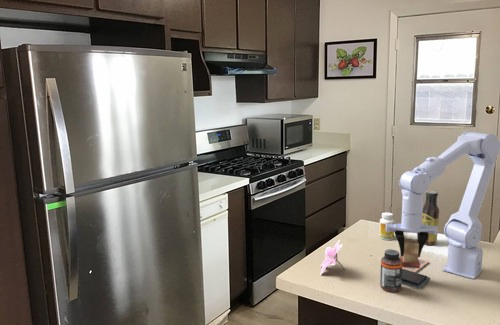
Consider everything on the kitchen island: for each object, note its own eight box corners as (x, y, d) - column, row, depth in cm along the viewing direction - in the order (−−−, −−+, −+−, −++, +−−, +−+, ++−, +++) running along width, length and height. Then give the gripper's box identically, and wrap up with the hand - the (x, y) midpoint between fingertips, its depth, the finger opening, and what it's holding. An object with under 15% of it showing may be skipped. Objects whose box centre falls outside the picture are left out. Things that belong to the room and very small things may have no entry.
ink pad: (430, 280, 132) (430, 276, 131) (419, 289, 126) (419, 285, 126) (399, 271, 139) (399, 266, 138) (387, 279, 133) (387, 275, 133)
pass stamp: (417, 261, 133) (418, 238, 132) (419, 268, 128) (420, 244, 127) (399, 260, 134) (400, 237, 133) (402, 267, 130) (403, 243, 128)
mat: (428, 262, 144) (429, 261, 144) (414, 273, 137) (414, 272, 136) (397, 254, 152) (397, 252, 152) (382, 264, 144) (382, 262, 144)
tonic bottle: (415, 241, 164) (417, 190, 160) (428, 239, 166) (431, 188, 162) (426, 247, 158) (429, 194, 154) (441, 245, 160) (444, 192, 156)
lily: (329, 262, 149) (316, 240, 146) (360, 256, 142) (347, 233, 140) (319, 286, 139) (305, 263, 137) (352, 281, 133) (338, 257, 130)
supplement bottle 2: (384, 281, 132) (386, 246, 130) (404, 287, 128) (406, 250, 126) (376, 288, 127) (378, 252, 125) (396, 294, 123) (398, 257, 121)
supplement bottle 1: (395, 240, 165) (396, 215, 163) (381, 240, 165) (382, 216, 164) (391, 235, 170) (392, 211, 169) (377, 235, 171) (378, 211, 169)
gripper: (435, 209, 131) (433, 251, 133) (385, 207, 134) (383, 248, 136) (440, 216, 124) (437, 260, 126) (387, 214, 127) (385, 257, 129)
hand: (410, 255), depth 131 cm, fingers closed on pass stamp, 4 cm apart
